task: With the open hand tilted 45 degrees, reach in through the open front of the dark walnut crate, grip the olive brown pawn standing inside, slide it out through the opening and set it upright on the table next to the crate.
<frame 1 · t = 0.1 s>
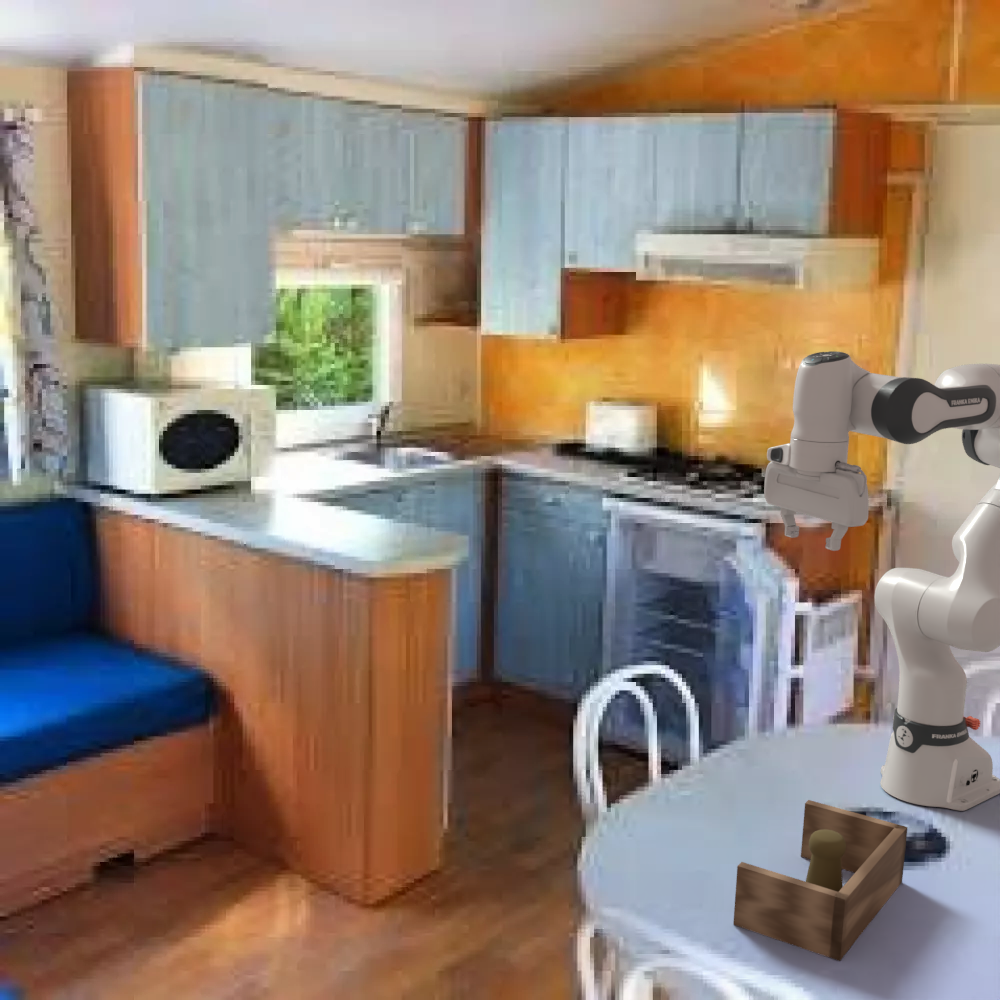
hand: (811, 543, 203), 48 cm above the table, tool pointing down, fingers open, 8 cm apart
olive brown pawn: (822, 904, 188), on the table
open-fronted crate: (822, 903, 188), on the table
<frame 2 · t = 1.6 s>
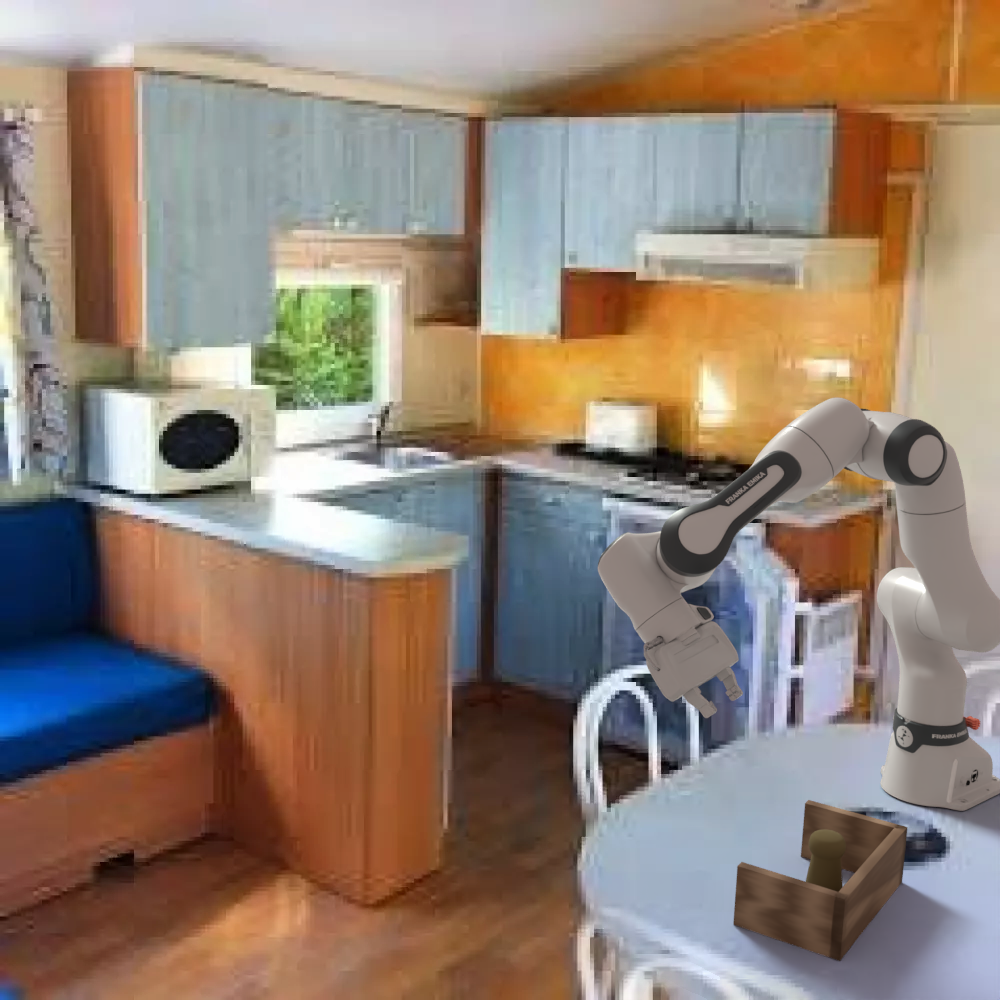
hand: (725, 706, 192), 26 cm above the table, tool tilted 45°, fingers open, 8 cm apart
nothing on the table moved.
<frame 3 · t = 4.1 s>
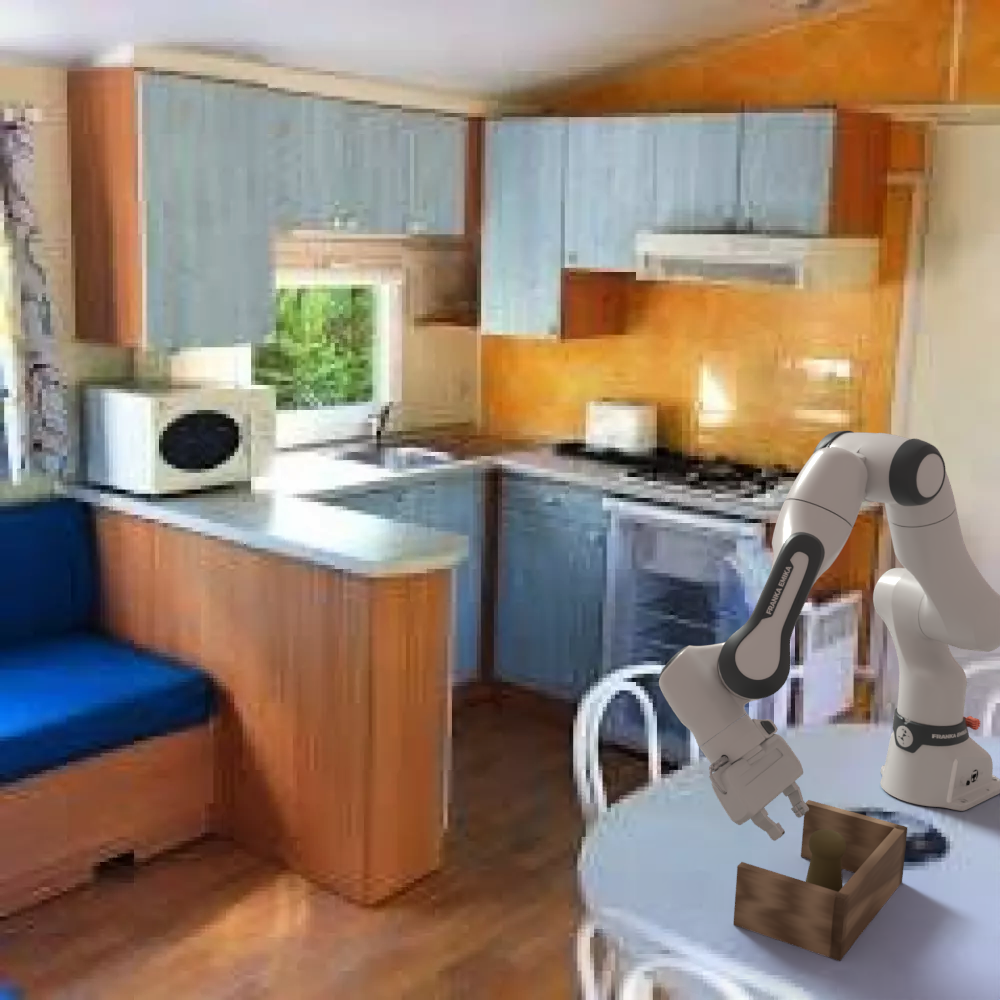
hand: (792, 825, 189), 11 cm above the table, tool tilted 45°, fingers open, 8 cm apart
nothing on the table moved.
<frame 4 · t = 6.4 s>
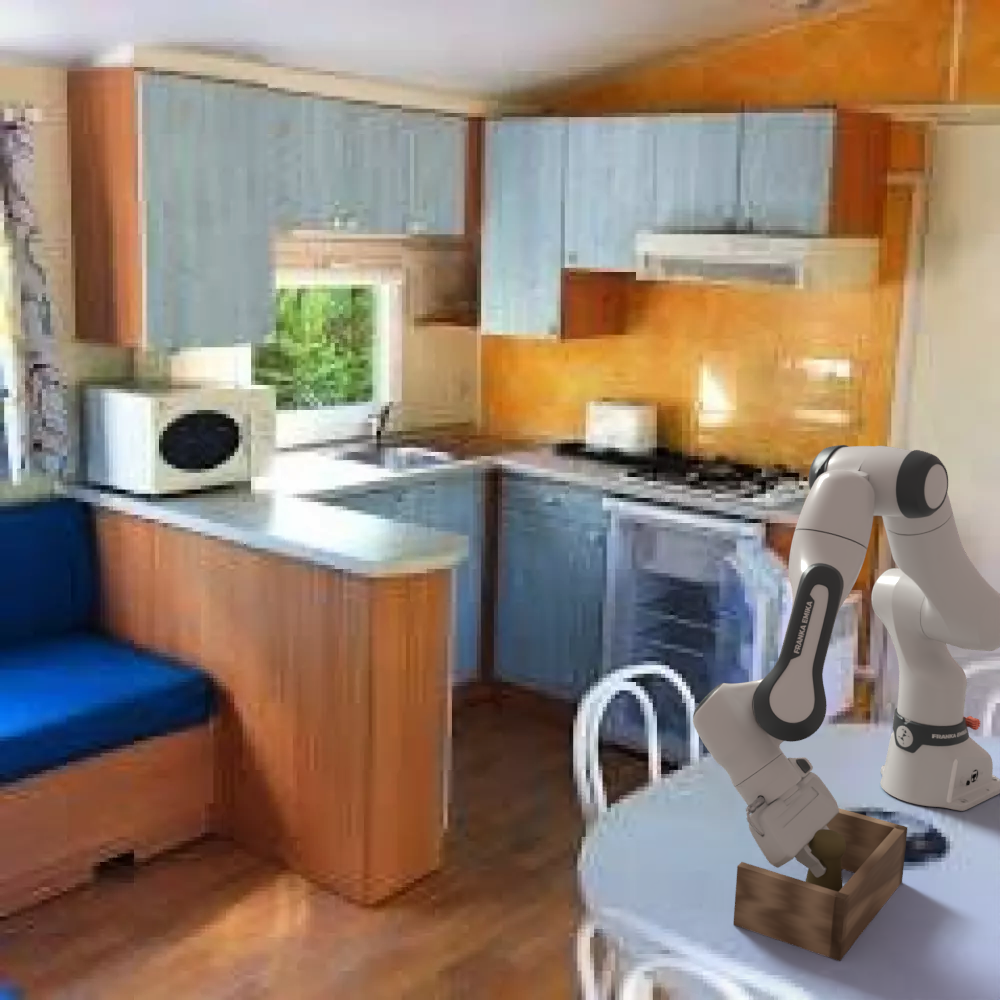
hand: (829, 866, 186), 6 cm above the table, tool tilted 45°, fingers closed on olive brown pawn, 4 cm apart
olive brown pawn: (822, 904, 188), on the table, touching gripper
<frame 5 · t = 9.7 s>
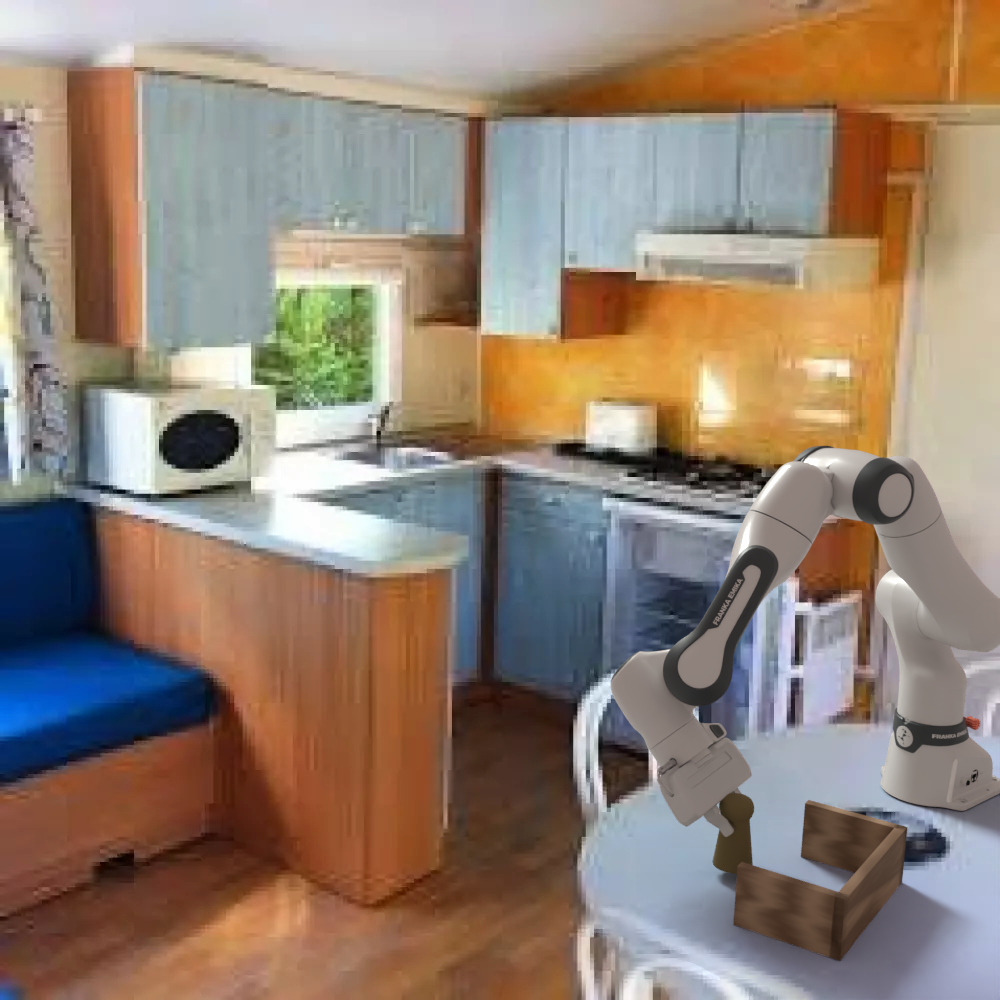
hand: (739, 827, 194), 8 cm above the table, tool tilted 45°, fingers closed on olive brown pawn, 4 cm apart
olive brown pawn: (732, 865, 195), point 2 cm above the table, touching gripper
when the fingers open (7 cm above the table, at t = 13.1 s): olive brown pawn drops 1 cm, on the table.
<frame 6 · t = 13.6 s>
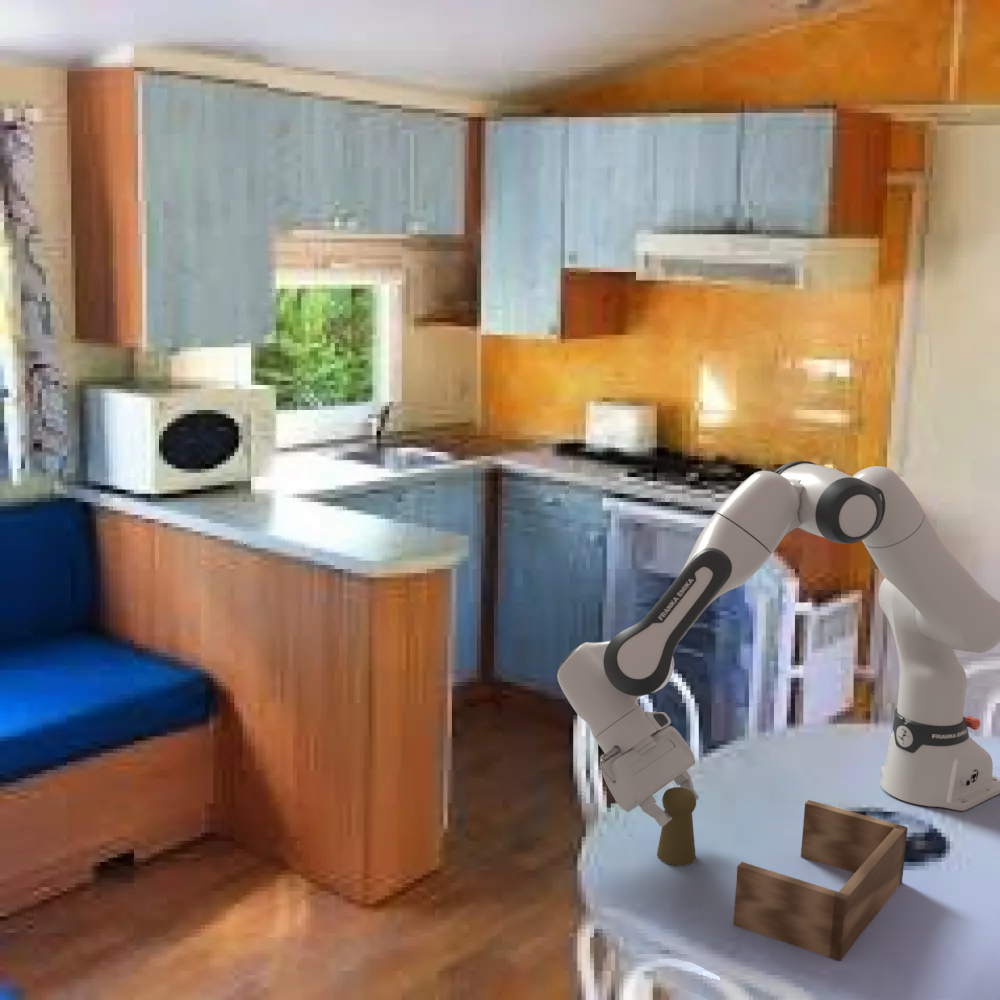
hand: (680, 812, 199), 7 cm above the table, tool tilted 45°, fingers open, 8 cm apart
olive brown pawn: (676, 857, 201), on the table
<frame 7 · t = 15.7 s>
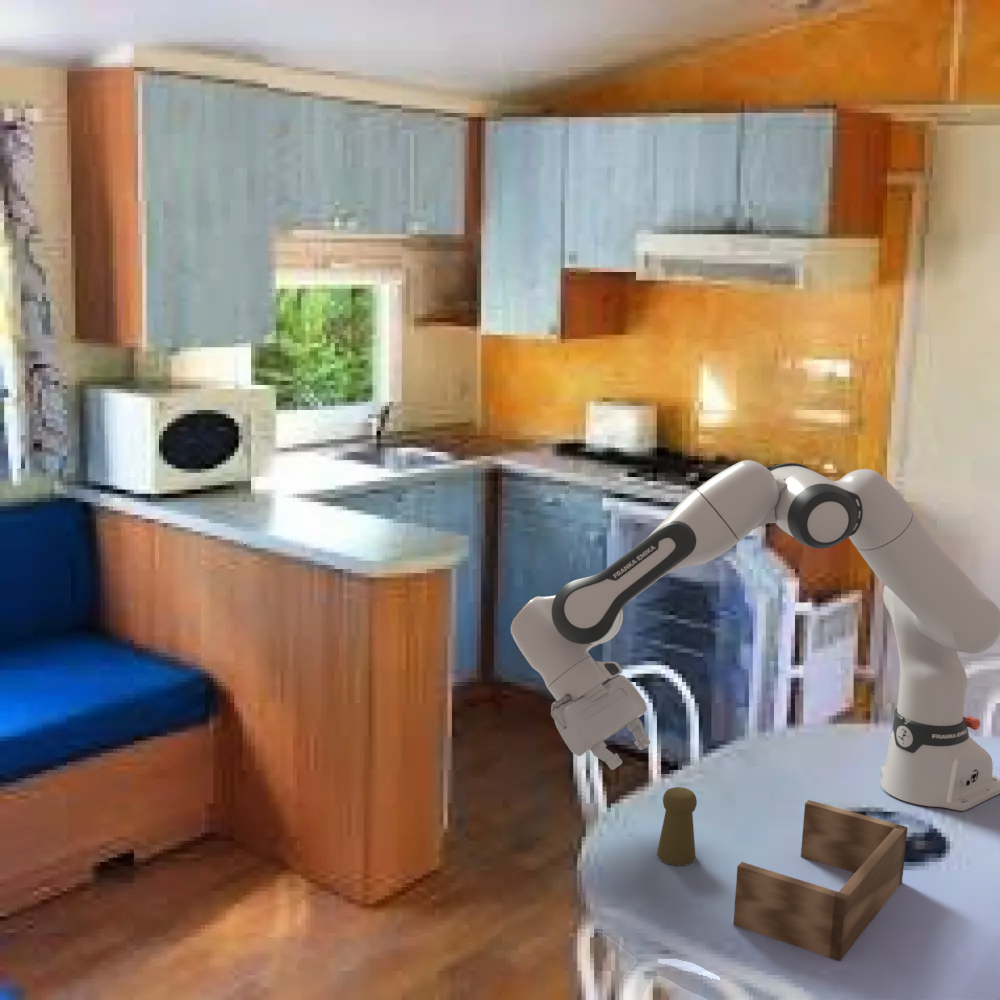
hand: (632, 756, 207), 13 cm above the table, tool tilted 45°, fingers open, 8 cm apart
nothing on the table moved.
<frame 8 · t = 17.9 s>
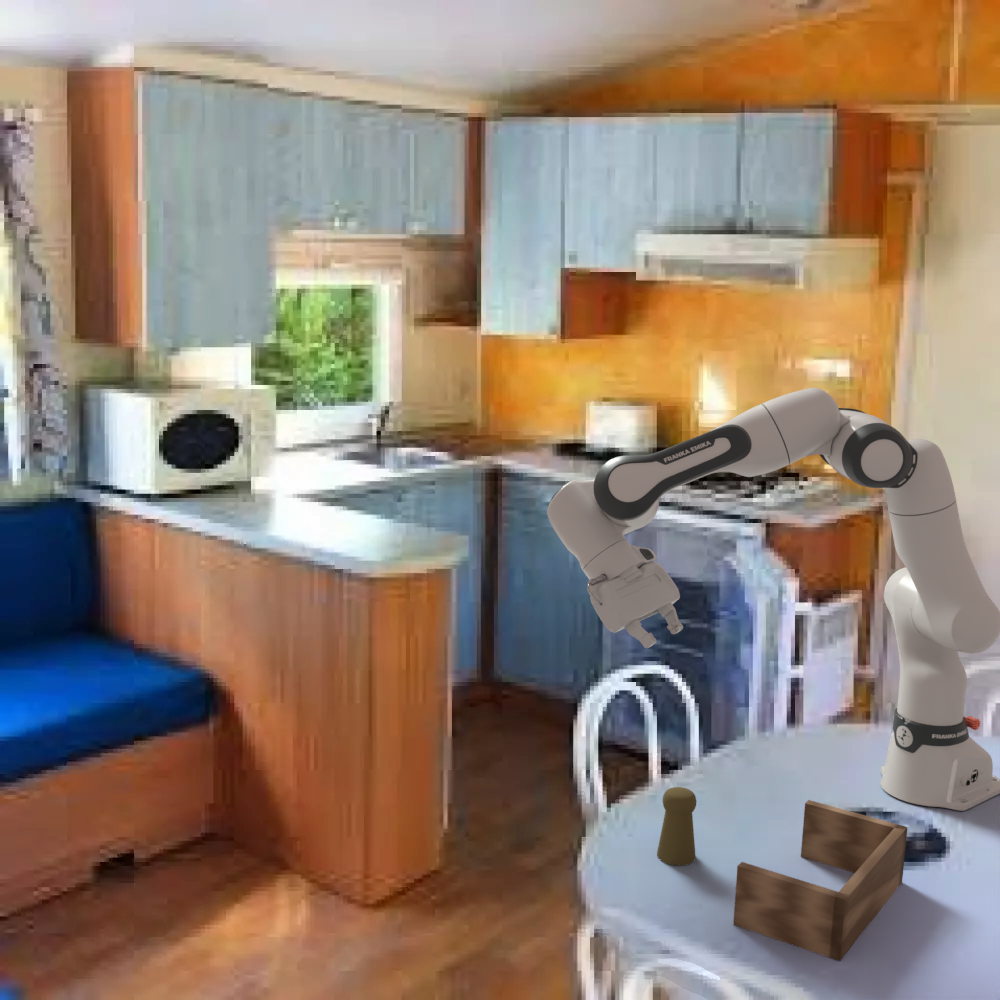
hand: (665, 638, 207), 31 cm above the table, tool tilted 45°, fingers open, 8 cm apart
nothing on the table moved.
at the end: olive brown pawn inside the target area (0.4 cm from its centre), on the table; olive brown pawn tilted 0°; the gripper is holding nothing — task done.
